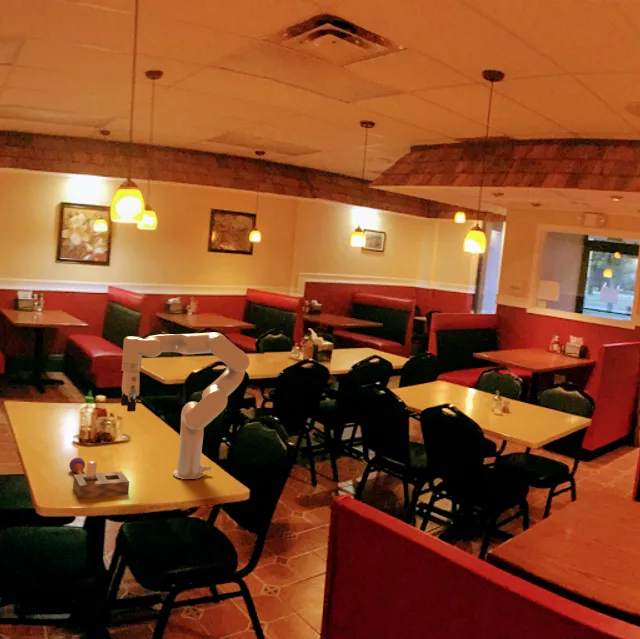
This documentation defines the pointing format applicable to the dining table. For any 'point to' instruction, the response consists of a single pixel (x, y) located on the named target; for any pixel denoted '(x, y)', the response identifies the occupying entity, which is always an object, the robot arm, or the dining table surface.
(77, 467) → the kendama
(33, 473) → the dining table surface
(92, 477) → the steel pin
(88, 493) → the walnut block
